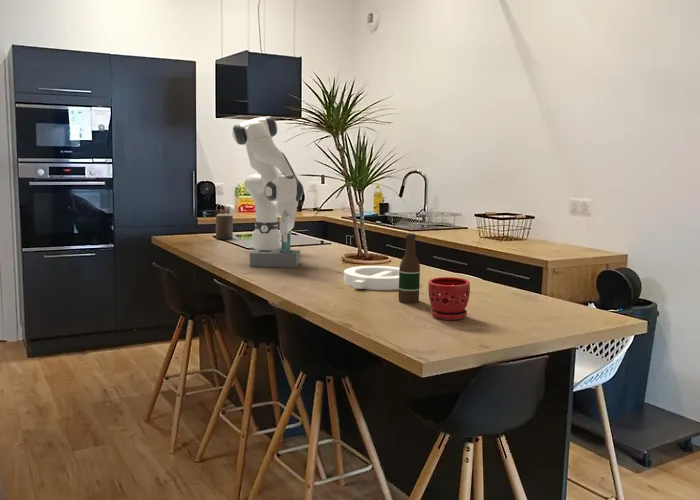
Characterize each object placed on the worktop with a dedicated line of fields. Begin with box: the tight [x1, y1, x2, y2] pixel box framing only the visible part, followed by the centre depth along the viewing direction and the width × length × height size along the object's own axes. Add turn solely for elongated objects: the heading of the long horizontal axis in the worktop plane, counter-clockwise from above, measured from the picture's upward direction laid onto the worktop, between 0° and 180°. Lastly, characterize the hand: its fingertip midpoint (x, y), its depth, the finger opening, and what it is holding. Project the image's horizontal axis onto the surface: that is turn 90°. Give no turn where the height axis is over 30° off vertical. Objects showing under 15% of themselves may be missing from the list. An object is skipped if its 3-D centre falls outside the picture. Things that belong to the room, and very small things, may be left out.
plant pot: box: [427, 276, 471, 321], centre depth 215 cm, size 13×13×12 cm
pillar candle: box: [215, 213, 234, 240], centre depth 389 cm, size 10×10×15 cm
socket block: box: [249, 249, 301, 268], centre depth 306 cm, size 13×21×6 cm, turn 87°
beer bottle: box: [398, 232, 421, 304], centre depth 235 cm, size 8×8×24 cm
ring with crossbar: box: [343, 265, 400, 291], centre depth 269 cm, size 28×28×5 cm
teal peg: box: [280, 234, 291, 253], centre depth 305 cm, size 4×4×14 cm
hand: (286, 240), depth 305 cm, fingers open, 8 cm apart
